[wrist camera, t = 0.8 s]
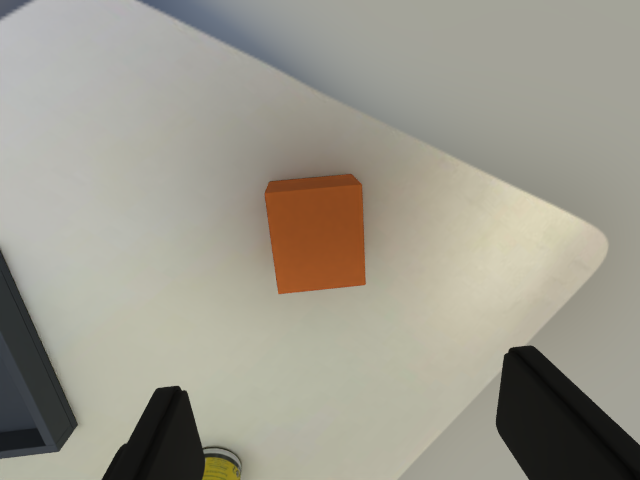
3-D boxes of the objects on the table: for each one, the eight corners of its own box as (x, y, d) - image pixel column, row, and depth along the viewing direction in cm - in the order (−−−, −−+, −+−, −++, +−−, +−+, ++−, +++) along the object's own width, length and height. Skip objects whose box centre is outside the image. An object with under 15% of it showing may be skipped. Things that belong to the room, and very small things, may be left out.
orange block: (269, 181, 24) (264, 192, 20) (351, 173, 24) (362, 183, 20) (280, 269, 26) (278, 294, 23) (355, 261, 27) (365, 285, 23)
